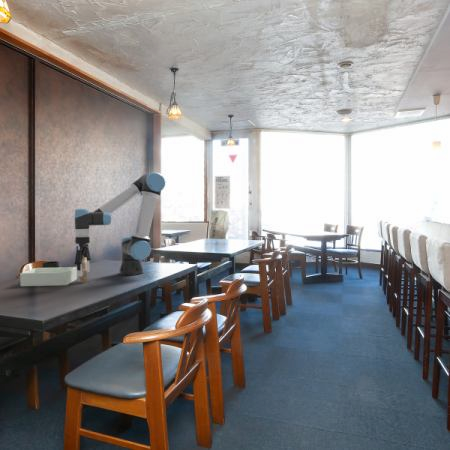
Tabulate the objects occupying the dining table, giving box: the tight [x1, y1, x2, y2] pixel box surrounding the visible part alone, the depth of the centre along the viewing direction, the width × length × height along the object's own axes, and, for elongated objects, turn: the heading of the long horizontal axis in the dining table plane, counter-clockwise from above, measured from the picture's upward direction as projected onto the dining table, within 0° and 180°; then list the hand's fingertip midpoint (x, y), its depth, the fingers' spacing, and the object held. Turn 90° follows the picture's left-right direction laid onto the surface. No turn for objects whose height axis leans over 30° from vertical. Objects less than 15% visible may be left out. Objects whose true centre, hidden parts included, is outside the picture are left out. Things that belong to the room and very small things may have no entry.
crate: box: [19, 266, 78, 287], centre depth 209 cm, size 24×18×7 cm
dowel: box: [79, 256, 88, 284], centre depth 209 cm, size 4×4×14 cm
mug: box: [41, 260, 61, 268], centre depth 226 cm, size 9×12×9 cm
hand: (83, 274), depth 209 cm, fingers open, 13 cm apart
